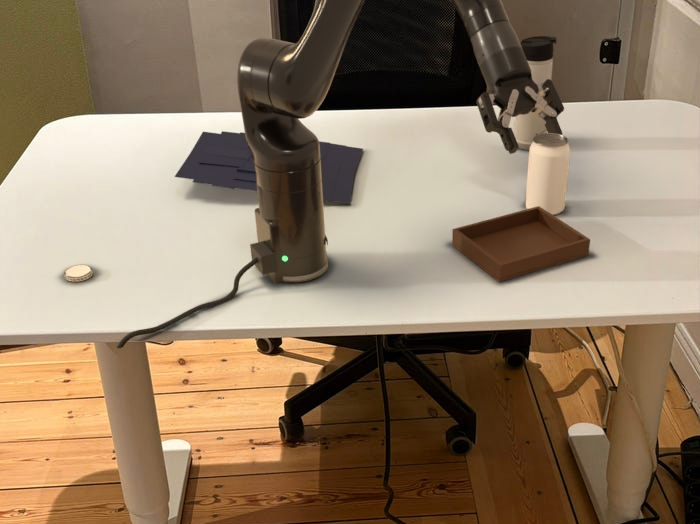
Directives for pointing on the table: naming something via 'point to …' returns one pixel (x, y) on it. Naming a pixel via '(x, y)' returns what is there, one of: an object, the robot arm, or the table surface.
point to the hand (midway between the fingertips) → (536, 146)
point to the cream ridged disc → (78, 273)
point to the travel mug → (541, 70)
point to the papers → (239, 171)
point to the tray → (520, 243)
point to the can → (548, 172)
